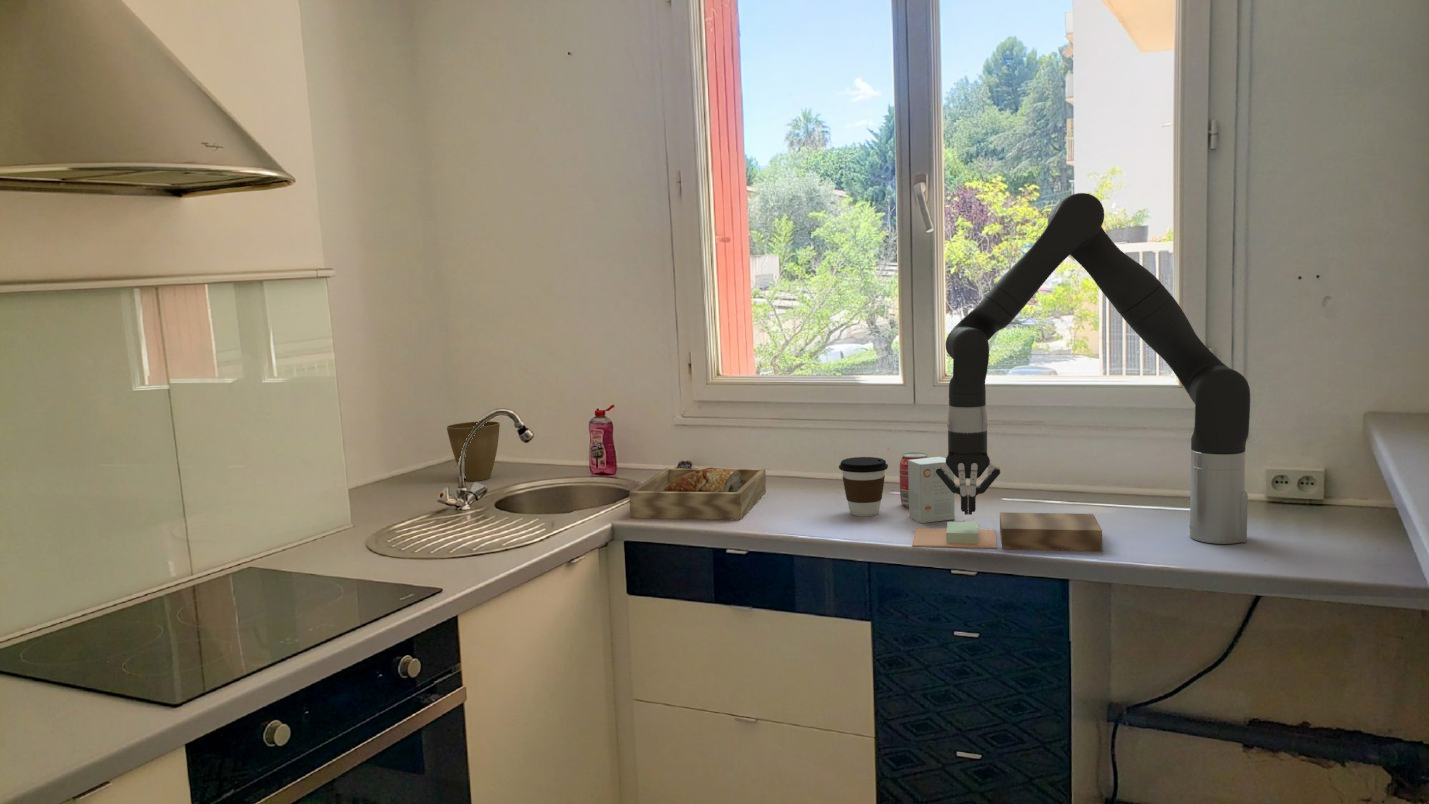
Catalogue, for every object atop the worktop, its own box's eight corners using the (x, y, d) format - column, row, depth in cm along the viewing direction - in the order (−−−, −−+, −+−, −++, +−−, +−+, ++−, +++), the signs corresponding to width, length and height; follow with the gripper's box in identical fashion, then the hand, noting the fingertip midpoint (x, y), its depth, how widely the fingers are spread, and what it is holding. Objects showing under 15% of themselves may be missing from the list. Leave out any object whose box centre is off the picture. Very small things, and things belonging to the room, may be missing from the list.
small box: (941, 513, 217) (940, 456, 215) (955, 520, 211) (954, 460, 209) (908, 517, 215) (907, 459, 213) (921, 523, 209) (920, 464, 207)
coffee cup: (887, 506, 225) (885, 455, 224) (890, 518, 214) (889, 464, 213) (839, 507, 226) (838, 457, 225) (841, 519, 215) (839, 466, 214)
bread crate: (766, 492, 246) (765, 468, 246) (741, 519, 219) (740, 493, 218) (666, 491, 253) (665, 468, 252) (630, 517, 226) (629, 492, 225)
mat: (994, 531, 200) (994, 529, 200) (996, 548, 187) (996, 547, 187) (915, 529, 204) (915, 528, 204) (912, 546, 191) (912, 545, 191)
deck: (1093, 533, 195) (1093, 513, 194) (1102, 551, 182) (1102, 530, 182) (999, 531, 199) (999, 512, 199) (1002, 548, 187) (1001, 528, 187)
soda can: (935, 503, 226) (934, 452, 225) (925, 510, 220) (924, 458, 219) (906, 501, 230) (905, 451, 228) (895, 507, 224) (894, 456, 222)
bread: (717, 519, 221) (715, 476, 220) (647, 514, 229) (645, 473, 228) (752, 500, 239) (751, 460, 238) (686, 496, 247) (685, 457, 246)
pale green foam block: (947, 521, 200) (947, 531, 200) (946, 532, 192) (946, 542, 192) (977, 522, 199) (977, 531, 199) (977, 533, 190) (977, 543, 190)
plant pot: (511, 478, 280) (507, 423, 278) (460, 486, 272) (455, 429, 270) (493, 471, 292) (489, 418, 290) (444, 478, 284) (440, 424, 282)
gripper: (1001, 425, 194) (1002, 510, 196) (933, 425, 197) (934, 508, 199) (1003, 431, 187) (1003, 519, 189) (932, 431, 190) (933, 517, 192)
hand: (968, 513), depth 194 cm, fingers closed
